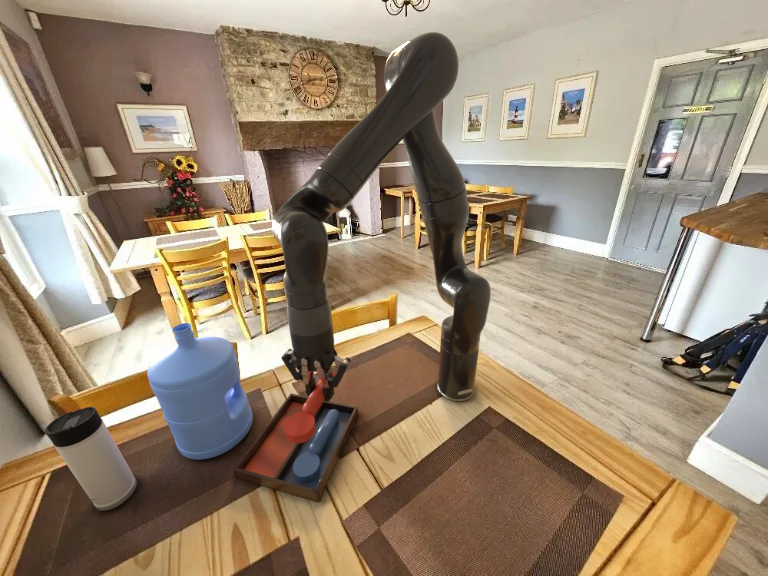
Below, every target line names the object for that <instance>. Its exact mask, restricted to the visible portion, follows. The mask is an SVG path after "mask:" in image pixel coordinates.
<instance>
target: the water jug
mask: <svg viewBox="0 0 768 576" xmlns="http://www.w3.org/2000/svg"><path fill="white" fill-rule="evenodd" d="M171 332H172V333H173V334H174V339H175V341H176V343H177V344H175V345H173V346H171V347H169V348H168V349H166V350H164V351H162V352H161V353H160V354H159V355H157V356H156V357H155V358H154V359H153V361H151V363H150V364H149V365H148V368H147V371H146V373H147V375H146V376H147V379H148V383H149V386H150V388H151V390H152V393H153V394H154V395H155V397H156V400H157V402H158V404H159V406H160V409H161V411H162V415H163V418H164V420H165V422H166V425H167V426H168V427H169V429H170V431H171V434H172V436H173V439H174V442H175V445H176V449H177V450H178V452H179V453H180V454H181V455H182V456H183V457H185V458H187V459H190V460H196V461H197V460H198V461H199V460H201V461H203V460H208V459H212V458H216V457H218V456H221V455H223V454H225V453H227V452H229V451H231V450H232V449H234V448H235V447H236V446H237V445H238V444H240V443H241V441H243V440H244V438H245V437H246V436H247V434H249V431H250V430H251V427H252V425H253V419H254V415H253V411H252V408H251V405H250V403H249V399H248V395H247V393H246V391H245V390H244V388H243V386H242V383H241V379H240V374H241V370H240V367H239V360H238V357H237V352H236V350H235V348H234V345H233V344H232V342H231V341H229V340H228V339H226V338H224V337H219V336H203V337H195V333H194V330H192V324H191V323H189V322H183V323H179V324H177V325H175V326H174V327H172V329H171Z"/></svg>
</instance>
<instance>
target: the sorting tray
mask: <svg viewBox="0 0 768 576" xmlns="http://www.w3.org/2000/svg"><path fill="white" fill-rule="evenodd" d="M308 398H309V396H306V395H301V394H295V393H290V394H289V395H288V396H287V398H286V399H285V401H284V402H283V403H282V404H281V406H280V407H279V408H278V410H277V411H276V413H274V415H273V416H272V417H271V419H270V420H269V422H268V423H267V424H266V425H265V427H264V428H263V429H262V431H261V432H260V434H258V436H257V437H256V439H255V440H254V441H253V442H252V444H251V445H250V446H249V448H248V449H247V450H246V452H245V453H244V455H243V456H242V457H241V459H240V460H239V461H238V462H237V463H236V465H235V467H234V468H233V469H232V470H233V474H234V476H235V479H236V480H241V481H244V482H248V483H250V484H251V483H252V484H254V485H257V486H261V487H265V488H268V489H271V490H275V491H278V492H281V493H285V494H287V495H291V496H294V497H299V498H302V499H305V500H307V501H311V502H315V503H320V501H321V499H322V497H323V495H324V492H325V490H326V488H327V486H328V484H329V481H330V479H331V477H332V475H333V472H334V470H335V468H336V465H337V463H338V461H339V459H340V456H341V455H342V452H343V450H344V448H345V446H346V443H347V441H348V439H349V437H350V434H351V432H352V430H353V428H354V425H355V424H356V422H357V419H358V417H359V407H358V406H356V405H351V404H345V403H340V402H336V401H331V400H329V402H325V401H323V403H322V404H321V406H320V408H319V409H318V411H317V413H316V414H315V415H314V416H313V417H314V419H315V425H316V431H315V433H314V435H313V436H312V437H311V438H310V439H309V440H307V441H306V442H303V443H292V442H290V441H289V440H288V439H287V438H286V434H285V429H284V426H285V423H286V421H287V420H288V418H289V417H291V416H292V415H294V414H296V413H299V412H302V407H303V405H304V404H305V402H306V401H307V399H308ZM332 409H335V410H337V411H338V412H339V419H338V421H337V423H336V425H335V427H334V429H333V431H332V433H331V435H330V436H329V438H328V440H327V442H326V444H325V446H324V448H323V450H322V452H321V454H320V455H319V456H318V457H319V459H320V464H321V470H320V473H319V475H318V476H317V477H316V478H315V479H314V480H312V481H310V482H307V483H302V482H299V481H298V480H297V479H296V478H295V476H294V472H293V464H294V462H295V460H296V459H297V457H299V456H300V455H301V454H303V453H307V452H309V446H310V444H311V442H312V441H313V439H314V437H315V435H316V433H317V432H318V430H319V428H320V426H321V425H322V423H323V421H324V419H325V417H326V416H327V414H328V412H329V411H330V410H332Z"/></svg>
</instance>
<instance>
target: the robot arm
mask: <svg viewBox="0 0 768 576" xmlns="http://www.w3.org/2000/svg"><path fill="white" fill-rule="evenodd" d="M459 65H460V64H459V56H458V52H457V49H456V47H455V45H454V44H453V42H452V41H451V39H450V38H449V37H448V36H447V35H446V34H443V33H441V32H438V31H433V32H432V31H431V32H425V33H423V34H419V35H417V36H415V37H413V38H412V39H411V40H408V41H407V42H406V43H404V44H402V45H400V46H399V47H397V48H396V49H394V50H393V51H392V52H391V53H390V55H389V56H388V58H387V59H386V62H385V65H384V71H383V82H384V88H385V94H384V95H383V97H381V99H380V101H379V102H377V104H376V105H375V106H374V107H373V108H372V109H371V110H370V111H369V112H368V113H367V114H366V115H365V116H364V117H363V118H362V119H361V120H360V121H359V122H358V123H357V124H356V125H355V126H353V128H351V129H350V130H349V131H348V132H347V133H346V134H345V135H344V136H343V137H342V138H341V139H340V140H339V141H338V142H337V143H336V144H335V145H334V147H333V148H332V149H331V150H330V151H329V153H328V154H327V156H325V158H324V159H323V161H322V162H321V163H320V164H319V166H318V167H317V168H316V169H315V171H314V172H313V174H312V175H311V177H310V178H309V179H308V180H307V181H306V182H305V183H304V184H303V185H302V186H300V187H299V188H298V189H297V190H296V191H295V192H294V193H293V194H292V195H291V196H290V197H289V198H287V200H285V202H284V203H283V204H282V205H281V207H280V208H279V209H278V210H277V212H276V214H275V215H274V217H273V219H272V222H271V234H272V236H273V238H274V239H275V241H276V242H277V244H278V245H279V246H280V247H281V250H282V253H283V259H284V260H283V261H284V267H285V272H284V274H283V289H284V295H285V301H286V316H287V317H286V318H287V322H288V323H287V324H288V330H289V335H290V341H291V347H292V348H288V349H287V350H286V351H285V352H284V353H283V355H282V356H281V361H282V362H283V364H284V366H285V367H286V368H287V370H288V372H289V373H290V374H291V376H292V378H293V379H294V380H295V381H296V382H299V381H302V384H303V385H304V388H305V393H306V395H307V397H309V396H310V395H311V393H312V392H313V390H314V388H315V387H316V385H317V382H316V377H314V376H315V372H316V373H317V376H318V379H319V380H320V379H321V380H322V384H323V393H324V401H325V402H329V401H331V400H332V398H333V396H334V395H335V388H338V387H339V384H340V383H341V381H342V379H343V377H344V375H345V373H346V371H347V369H348V368H349V365H350V363H351V358H350V357H344V358H342V357H340V356H339V355H338V352H337V350H336V349H335V335H334V325H333V324H334V323H333V317H332V316H333V315H332V308H331V303H330V300H329V289H328V281H327V280H328V279H327V276H326V275H327V269H328V259H329V237H328V232H327V229H326V226H325V222H326V221H327V220H328V218H329V217H330V216H332V215H333V214H334V213H338V212H342V211H344V210H345V209H346V208H347V207H349V206H350V204H351V203H352V202H353V200H354V199H355V198H356V196H357V195H358V194H359V192H360V191H361V190H362V189H363V188H364V186H365V185H366V184H367V182H368V181H369V179H370V178H371V177H372V175H373V174H374V173H375V172H376V170H377V169H378V168H379V167H380V166H381V164H382V163H383V162H384V161H385V160H386V158H387V157H388V156H389V155H390V154H391V152H392V151H394V149H395V148H396V147H397V146H398V145H399V144H400V143H401V141H402V142H403V145H404V149H405V152H406V153H405V154H406V157H407V161H408V165H409V168H410V169H409V170H410V172H411V176H412V180H413V184H414V188H415V192H416V197H417V202H418V206H419V210H420V214H421V217H422V221H423V224H424V228H425V232H426V235H427V240H428V243H429V247H430V251H431V254H432V261H433V268H434V277H435V283H436V289H437V293H438V295H439V297H440V298H441V299H442V300H443V302H445V303H446V304H447V305H449V306H450V307H451V308H452V309H453V313H452V315H450V316H447V317H445V318H444V319H443V320H442V322H441V326H440V327H441V328H440V346H439V360H438V361H439V362H438V363H439V364H438V376H437V385H436V386H437V392H439V394H440V395H441V396H442V397H443V398H445V399H446V400H449V401H450V402H456V403H457V402H458V403H460V402H466V401H469V400H470V399H471V398H473V396H474V395H475V383H476V376H477V367H478V359H479V352H480V351H479V350H480V343H481V334H482V332H483V331H484V328H485V326H486V322H487V317H488V314H489V313H488V312H489V307H490V303H491V294H492V291H491V290H492V289H491V285H490V282H489V280H488V279H486V278H485V277H483V276H481V275H480V274H478V273H476V272H474V271H472V270H471V269H469V268H468V266H467V264H466V260H465V256H464V252H463V251H464V250H463V244H462V243H463V237H464V235H465V232H466V228H467V225H468V222H469V217H470V206H469V205H470V204H469V200H468V193H467V188H466V187H467V186H466V182H465V179H464V175H463V173H462V171H461V169H460V167H459V166H458V164H457V163H456V161H455V159H454V158H453V156H452V154H451V153H450V151H449V149H448V148H447V147H446V145H445V143H444V141H443V140H442V138H441V136H440V133H439V129H438V125H437V122H436V119H435V118H436V117H435V111H434V109H435V108H436V107H437V106H438V105H439V104H440V103H442V102H443V101H444V100H445V99H446V98H447V97H448V96H449V95H450V94H451V92H452V91H453V89H454V87H455V85H456V83H457V79H458V75H459V68H460V67H459ZM333 364H335V371H336V373H335V374H336V376H333V373H332V371H333Z"/></svg>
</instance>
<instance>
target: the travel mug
mask: <svg viewBox="0 0 768 576" xmlns="http://www.w3.org/2000/svg"><path fill="white" fill-rule="evenodd" d="M44 432H45V434H46V435H47V437H48V439H49V440H50V441H51V443H52V445H53V447H54V448H55V449H56V451H57V453H58V454H59V456H60V457H61V458H62V460H63V461H64V463H65V465H66V466H67V467H68V469H69V470H70V472H71V473H72V475H73V476H74V477H75V479H76V481H77V482H78V483H79V485H80V487H81V488H82V489H83V491H84V492H85V494H86V496H87V497H88V498H89V500H90V501H91V503H92V504H93V506H94V507H95V508H96V510H98V511H101V512H103V511H104V512H105V511H110V510H112V509H115V508H117V507H119V506H120V505H122V504H124V502H126V501H127V500H128V499H129V498H130V497H131V496H132V495H133V493H134V492H135V490H136V488H137V486H138V485H137V484H138V483H137V479H136V477H135V476H134V474H133V472H132V469H131V468H130V467H129V465H128V463H127V461H126V460H125V458H124V456H123V454H122V453H121V451H120V449H119V446H118V445H117V443H116V442H115V439H114V438H113V436H112V435H111V433H110V431H109V429H108V427H107V425H106V423H105V422H104V420H103V419H102V417H101V416H100V414H99V412H98V411H97V409H96V407H95V406H85V407H84V408H80V409H76V410H74V411H69V412H66V413H64V414H62V415H60V416H58V417H56V418H55V419H54V420H52V421H51V422H50V423H49V424H47V426H46V427H45V429H44Z"/></svg>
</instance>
